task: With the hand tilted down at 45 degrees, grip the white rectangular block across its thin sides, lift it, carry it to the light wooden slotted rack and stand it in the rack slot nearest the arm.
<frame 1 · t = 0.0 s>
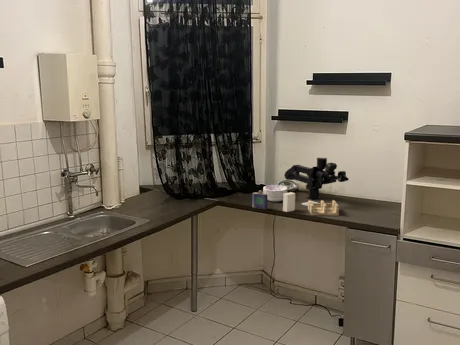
hand: (342, 180, 274), 17 cm above the countertop, tool horizontal, fingers open, 9 cm apart
paper bowls: (275, 200, 296), on the countertop
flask: (259, 208, 277), on the countertop
white rectangular block: (288, 210, 272), on the countertop
drying mat: (314, 205, 284), on the countertop
rack: (322, 211, 269), on the countertop
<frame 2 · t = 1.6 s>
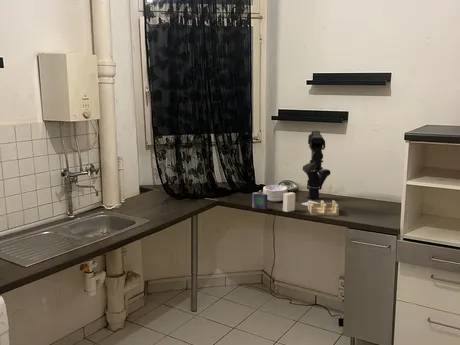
hand: (315, 184, 279), 13 cm above the countertop, tool pointing down, fingers open, 9 cm apart
nothing on the countertop moved.
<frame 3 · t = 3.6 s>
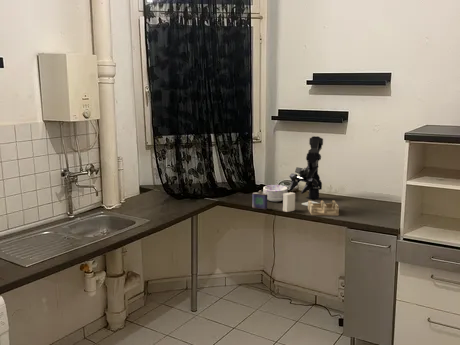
hand: (295, 191, 271), 11 cm above the countertop, tool tilted 45°, fingers open, 9 cm apart
nothing on the countertop moved.
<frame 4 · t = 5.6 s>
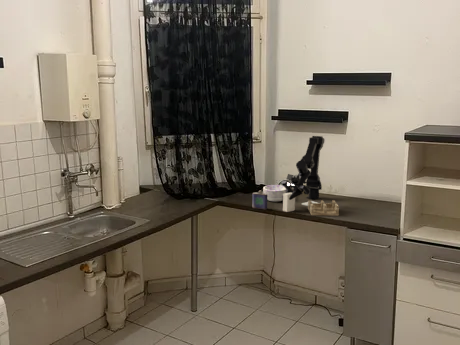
hand: (287, 198, 270), 7 cm above the countertop, tool tilted 45°, fingers closed on white rectangular block, 3 cm apart
white rectangular block: (288, 210, 272), on the countertop, touching gripper
everything else where it was.
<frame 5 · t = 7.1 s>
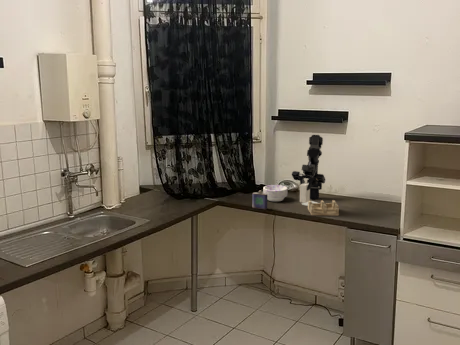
hand: (304, 189, 266), 13 cm above the countertop, tool tilted 45°, fingers closed on white rectangular block, 3 cm apart
white rectangular block: (304, 201, 269), point 6 cm above the countertop, touching gripper
everything else where it was.
when the fingers open (10 cm above the countertop, at t = 9.1 s): white rectangular block drops 1 cm, resting on rack.
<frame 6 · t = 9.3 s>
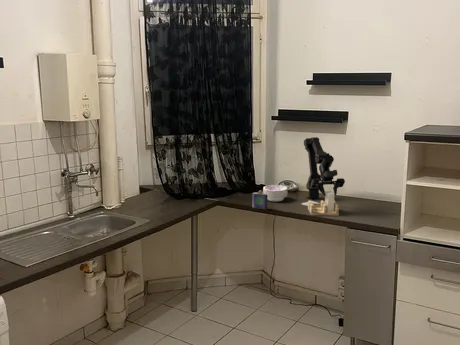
hand: (330, 195, 266), 10 cm above the countertop, tool tilted 45°, fingers open, 6 cm apart
white rectangular block: (329, 209, 269), point 1 cm above the countertop, touching rack
everything else where it was.
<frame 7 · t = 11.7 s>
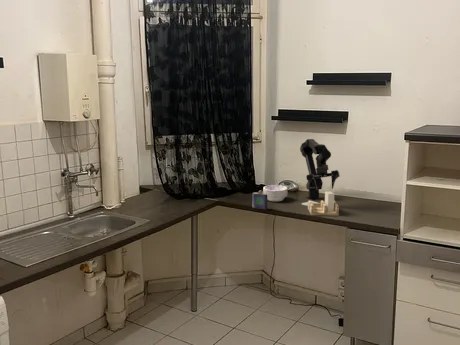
hand: (324, 189, 277), 10 cm above the countertop, tool tilted 30°, fingers open, 9 cm apart
nothing on the countertop moved.
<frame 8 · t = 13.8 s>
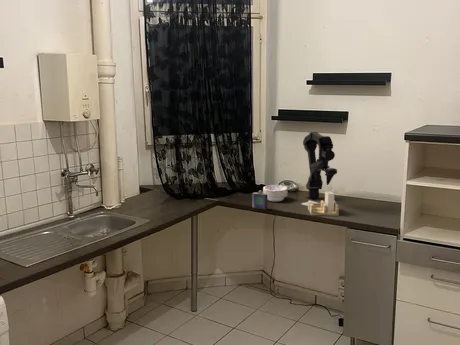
hand: (322, 183, 282), 13 cm above the countertop, tool pointing down, fingers open, 9 cm apart
nothing on the countertop moved.
at the end: white rectangular block inside the target area on the rack (0.5 cm from its centre), point 1.2 cm above the rack's base; white rectangular block tilted 0°; the gripper is holding nothing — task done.
